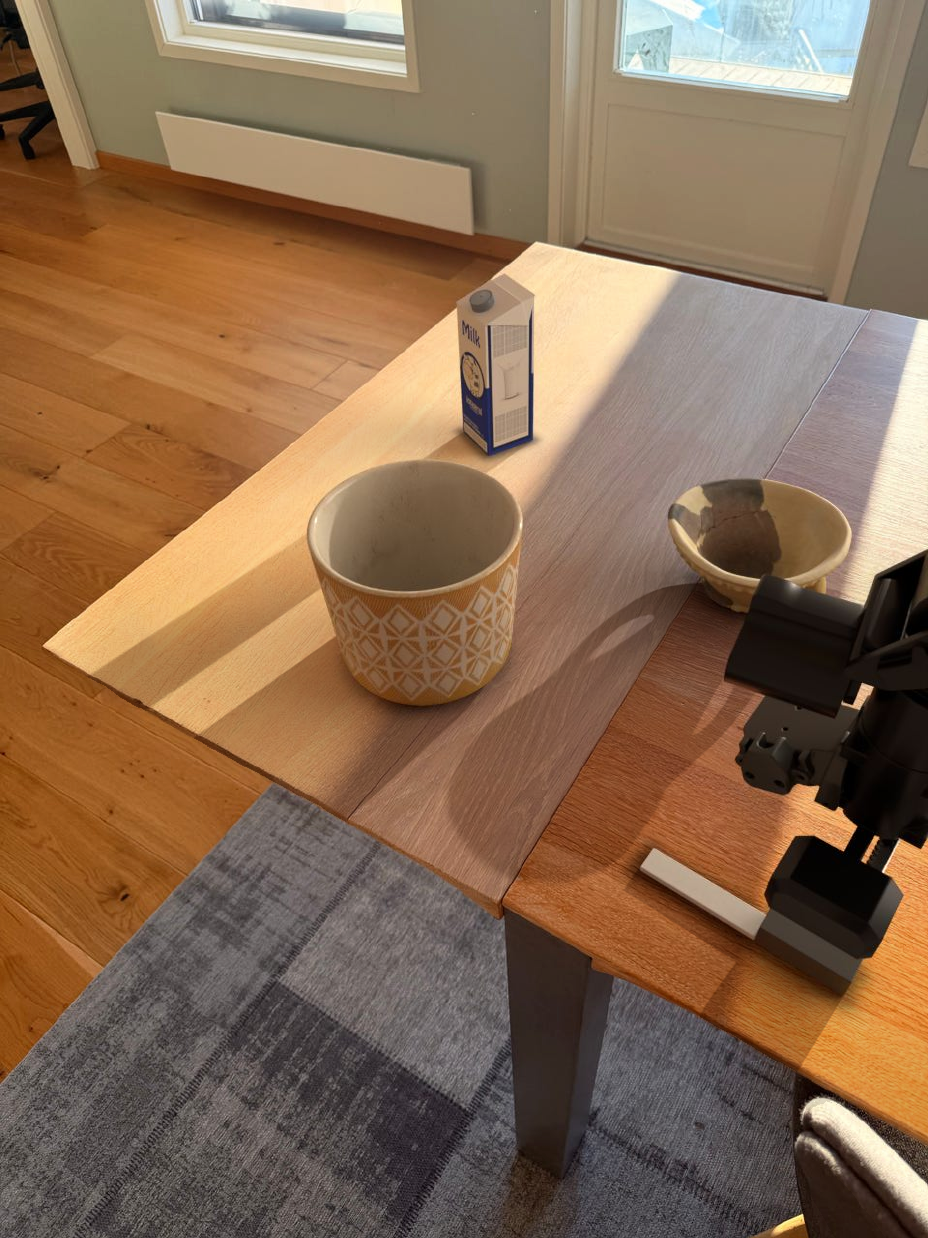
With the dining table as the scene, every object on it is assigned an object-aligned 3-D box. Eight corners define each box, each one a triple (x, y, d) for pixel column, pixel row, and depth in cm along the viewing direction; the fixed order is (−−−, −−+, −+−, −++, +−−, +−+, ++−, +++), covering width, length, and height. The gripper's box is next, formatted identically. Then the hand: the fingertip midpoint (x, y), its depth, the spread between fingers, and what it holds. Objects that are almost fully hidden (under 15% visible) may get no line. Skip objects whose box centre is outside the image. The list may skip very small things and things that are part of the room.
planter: (309, 710, 87) (277, 584, 76) (359, 576, 101) (339, 452, 89) (508, 732, 84) (506, 605, 73) (532, 591, 98) (534, 465, 86)
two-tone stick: (855, 971, 67) (864, 957, 65) (843, 997, 66) (851, 983, 64) (653, 850, 75) (656, 834, 73) (638, 871, 74) (641, 856, 72)
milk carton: (534, 440, 118) (535, 293, 104) (489, 456, 116) (484, 308, 102) (505, 415, 123) (503, 271, 108) (462, 430, 120) (454, 285, 106)
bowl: (863, 591, 96) (889, 520, 89) (761, 680, 88) (781, 609, 81) (725, 517, 105) (739, 448, 99) (622, 591, 97) (630, 521, 90)
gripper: (839, 576, 58) (787, 729, 69) (700, 772, 47) (665, 914, 58) (1027, 652, 52) (938, 804, 63) (916, 889, 42) (833, 1020, 53)
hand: (843, 876), depth 60 cm, fingers open, 9 cm apart
